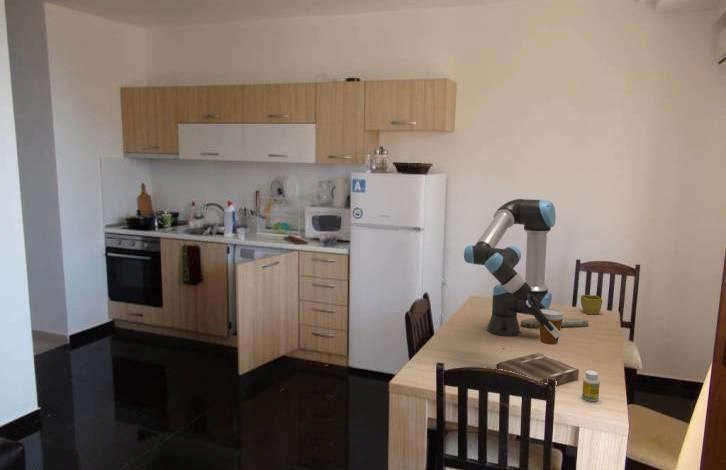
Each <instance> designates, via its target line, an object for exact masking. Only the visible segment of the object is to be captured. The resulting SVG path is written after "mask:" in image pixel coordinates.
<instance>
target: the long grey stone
mask: <svg viewBox="0 0 726 470" xmlns="http://www.w3.org/2000/svg"><path fill="white" fill-rule="evenodd" d="M520 324H521V326H523V327H526V328H535V329H540V327H539V321H538V320H537V319H536V318H535V317H533V318H526V319H522V320H520ZM588 326H589V320H588V319H584V318H577V317H575V318H568V317H567V318H566V317H564V318H563V320H562V324H561V328H562V327H564V328H567V327H569V328H570V327H572V328H581V327H588Z"/></svg>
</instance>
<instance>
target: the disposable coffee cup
mask: <svg viewBox="0 0 726 470" xmlns="http://www.w3.org/2000/svg"><path fill="white" fill-rule="evenodd" d="M540 310H541V312H542V313H543V314H544V316H545V317H546V318H547V319H548V320H549V321H550V322H551V323H552V324H553V325H554V326H555V327H556V328H557V329H558V330H559V331H560V332H561V330H562V329H561V328H562V327H561V324H562V320H563V318H565V315H564V312H563V311H561V310H558V309H554V308H549V309H540ZM539 327H540V328H539V338H540V343H542V344H545V345H551V346H553V345H557V344H558V343H559V338H560V336H559V337H557V338H555V337H554V336H553V335H552V334H551V333H550V332H549V331H548V330H547V329H546V327H545V326H541V324H540V322H539Z"/></svg>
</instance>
